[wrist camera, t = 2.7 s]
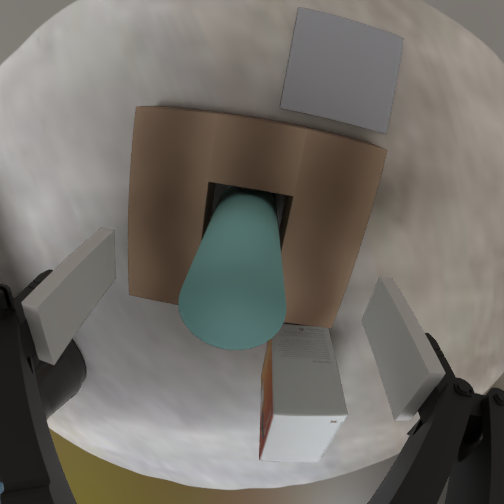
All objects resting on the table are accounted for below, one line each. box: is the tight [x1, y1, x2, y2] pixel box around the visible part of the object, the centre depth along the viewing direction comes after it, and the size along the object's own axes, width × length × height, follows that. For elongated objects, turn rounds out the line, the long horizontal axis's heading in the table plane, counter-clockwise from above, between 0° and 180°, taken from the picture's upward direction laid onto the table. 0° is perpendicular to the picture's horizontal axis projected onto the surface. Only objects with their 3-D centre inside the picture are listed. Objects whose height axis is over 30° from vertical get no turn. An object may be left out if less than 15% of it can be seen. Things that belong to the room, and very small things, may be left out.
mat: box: [280, 7, 404, 134], centre depth 19 cm, size 8×8×1 cm
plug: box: [178, 186, 286, 350], centre depth 19 cm, size 4×4×13 cm
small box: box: [259, 324, 348, 462], centre depth 26 cm, size 8×6×10 cm
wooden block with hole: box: [128, 106, 387, 328], centre depth 23 cm, size 16×14×4 cm
